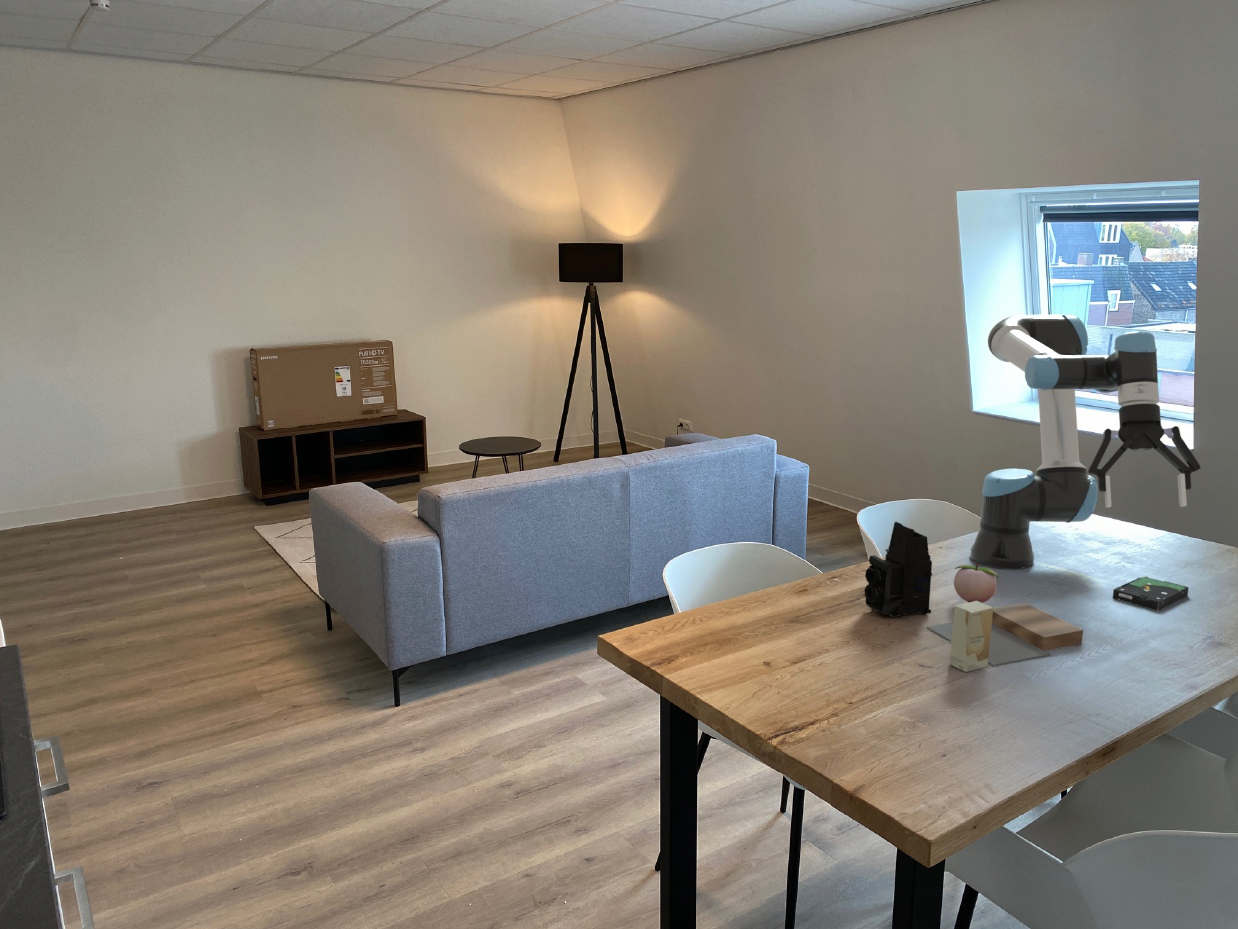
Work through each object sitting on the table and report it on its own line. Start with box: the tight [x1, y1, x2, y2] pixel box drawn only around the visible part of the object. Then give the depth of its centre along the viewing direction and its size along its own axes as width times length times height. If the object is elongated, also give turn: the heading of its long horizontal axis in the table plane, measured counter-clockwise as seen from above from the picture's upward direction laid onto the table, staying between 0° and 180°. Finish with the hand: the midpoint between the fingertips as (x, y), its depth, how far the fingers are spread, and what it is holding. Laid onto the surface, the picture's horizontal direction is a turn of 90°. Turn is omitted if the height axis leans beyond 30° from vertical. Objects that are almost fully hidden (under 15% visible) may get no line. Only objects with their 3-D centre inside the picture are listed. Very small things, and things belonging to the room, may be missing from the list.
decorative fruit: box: [953, 562, 999, 603], centre depth 209 cm, size 9×8×10 cm
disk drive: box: [1112, 576, 1189, 611], centre depth 214 cm, size 10×3×15 cm
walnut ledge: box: [992, 602, 1084, 652], centre depth 195 cm, size 16×10×3 cm, turn 19°
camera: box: [864, 521, 933, 618], centre depth 205 cm, size 10×14×20 cm
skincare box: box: [948, 601, 994, 673], centre depth 179 cm, size 6×4×12 cm
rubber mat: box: [926, 621, 1051, 667], centre depth 191 cm, size 20×14×1 cm
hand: (1145, 507), depth 192 cm, fingers open, 13 cm apart
